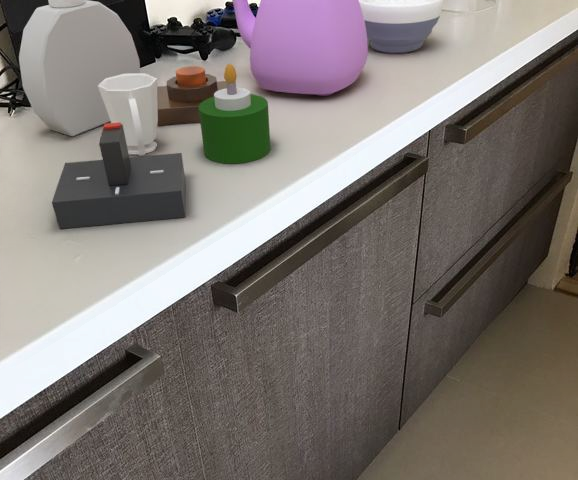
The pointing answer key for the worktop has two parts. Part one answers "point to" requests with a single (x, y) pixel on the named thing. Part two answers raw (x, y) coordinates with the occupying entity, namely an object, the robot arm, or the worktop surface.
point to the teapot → (304, 44)
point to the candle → (234, 124)
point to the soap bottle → (73, 62)
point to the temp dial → (115, 154)
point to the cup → (133, 108)
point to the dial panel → (120, 192)
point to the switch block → (184, 100)
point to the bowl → (399, 23)
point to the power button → (190, 76)
